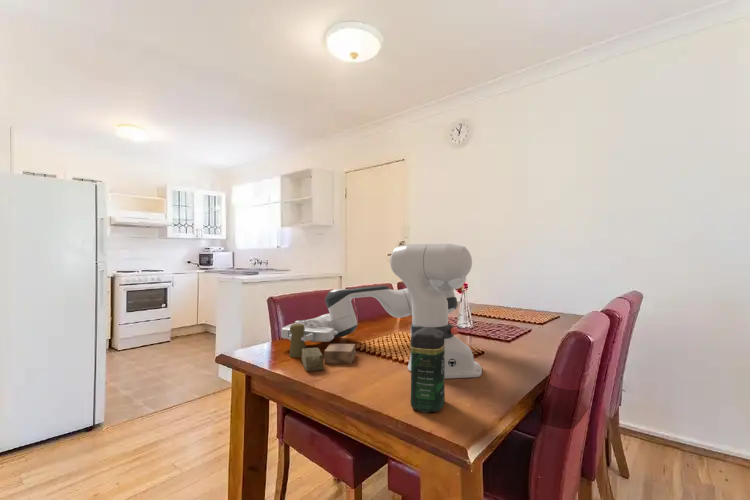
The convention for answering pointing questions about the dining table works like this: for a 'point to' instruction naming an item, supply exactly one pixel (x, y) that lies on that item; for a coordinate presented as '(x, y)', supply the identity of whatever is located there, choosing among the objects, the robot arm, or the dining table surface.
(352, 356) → the walnut block
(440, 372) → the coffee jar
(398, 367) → the dining table surface
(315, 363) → the stone block
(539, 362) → the dining table surface
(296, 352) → the olive peg figure
